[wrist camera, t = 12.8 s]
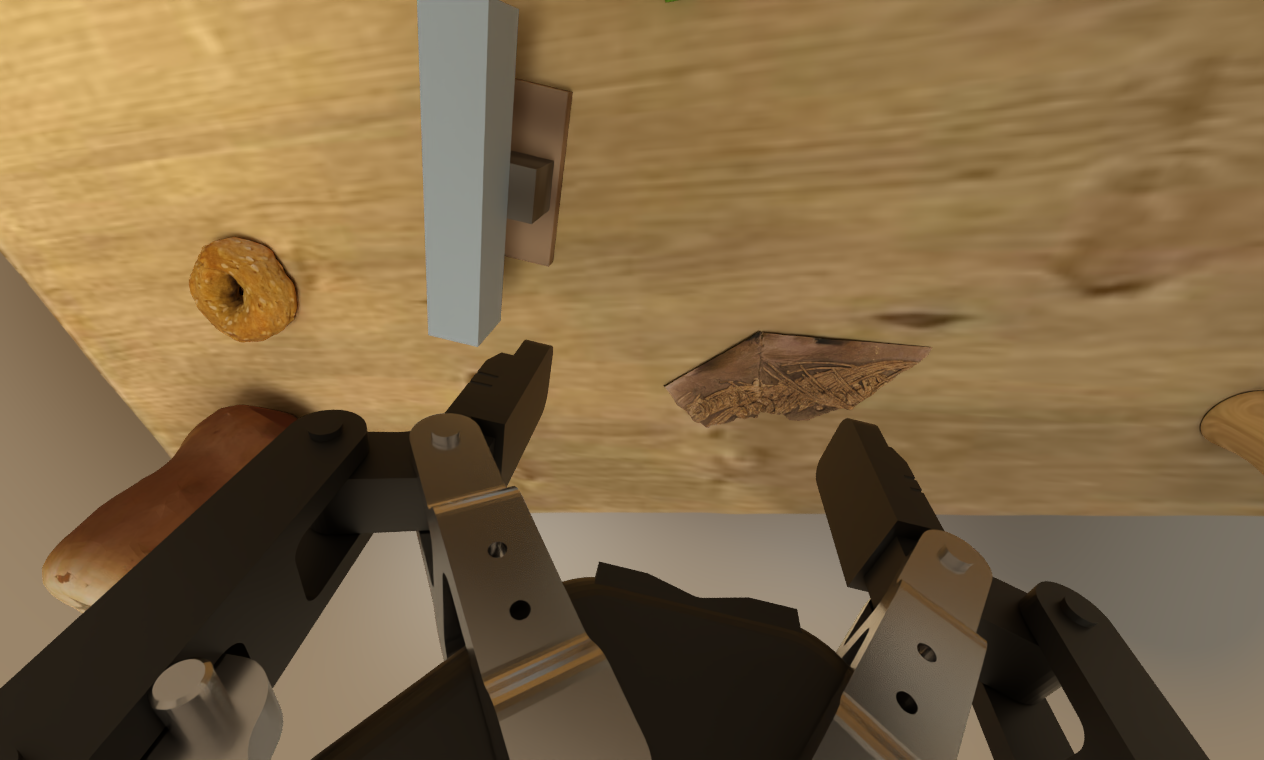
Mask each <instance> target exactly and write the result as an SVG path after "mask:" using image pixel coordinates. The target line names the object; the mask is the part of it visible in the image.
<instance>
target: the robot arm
mask: <svg viewBox="0 0 1264 760" xmlns="http://www.w3.org/2000/svg"><path fill="white" fill-rule="evenodd" d="M552 356H553V347H552V346H550V345H546V344H542V343H538V342H534V341H530V340H524V341H523V343H522V344H521V346H520V347H519V349H518V350H517V351H516V353H515V354H514V355H510V354H505V353H500V354H498V355H496V356H494V357H492V358H490V359H488V360H486V361H485V363H484V364H483V365H482V366H481V368H480V369H479V370H478V373H477V374H475V375H474V377H473V378H472V379H471V381H470V383H468V384H467V385H466V387H465V388H464V389H463V391H462V392H461V393H460V394H459V396H458V397H457V398H456V399H455V401H454V402H453V403H452V405H451V406H450V407H449V408H448V410H447V411H446V412H445V413H443V414H436V415H432V416H429V417H426V418H424V419H422V420H421V421H419V422H418V423H417V424H415V425H414V427H413V428H412V430H411V431H408V432H367V426H366V423H365V421H364V419H363V418H362V417H360V416H359V415H357V414H355V413H353V412H349V411H344V410H324V411H318V412H314V413H311V414H308V415H305V416H303V417H301V418H299V419H297V420H296V421H294V422H293V423H292V424H290V425H289V426H288V427H287V428H286V429H285V430H284V431H283V432H281V433H280V434H279V435H278V436H277V437H276V438H275V439H274V440H273V441H272V442H270V443H269V444H268V445H267V446H266V447H265V448H264V449H263V450H262V451H261V452H259V453H258V454H257V455H256V456H255V457H254V458H253V459H252V460H251V461H250V462H248V463H247V464H246V465H245V466H244V467H243V468H242V469H241V470H240V471H239V472H238V473H236V474H235V475H234V476H233V477H232V478H231V479H230V480H229V481H228V482H227V483H225V484H224V485H223V486H222V487H221V488H220V489H219V490H218V491H217V492H216V493H214V494H213V495H212V496H211V497H210V498H209V499H208V500H207V501H206V502H205V503H203V504H202V505H201V506H200V507H199V508H198V509H197V510H196V511H195V512H194V513H193V514H191V515H190V516H189V517H188V518H187V519H186V520H185V521H184V522H183V523H182V524H180V525H179V526H178V527H177V528H176V529H175V530H174V531H173V532H172V533H171V534H169V535H168V536H167V537H166V538H165V539H164V540H163V541H162V542H161V543H160V544H158V545H157V546H156V547H155V548H154V549H153V550H152V551H151V552H150V553H149V554H148V555H146V556H145V557H144V558H143V559H142V560H141V561H140V562H139V563H138V564H137V565H135V566H134V567H133V568H132V569H131V570H130V571H129V572H128V573H127V574H126V575H124V576H123V577H122V578H121V579H120V580H119V581H118V582H117V583H116V584H115V585H113V586H112V587H111V588H110V589H109V590H108V591H107V592H106V593H105V594H104V595H103V596H101V597H100V598H99V599H98V600H97V601H96V602H95V603H94V604H93V605H92V606H90V607H89V608H88V609H87V610H86V611H85V612H84V613H83V614H82V615H81V616H79V618H77V619H76V620H75V621H74V622H73V623H72V624H71V625H70V626H69V627H68V628H66V629H65V630H64V631H63V632H62V633H61V634H60V635H59V636H57V637H56V638H55V639H54V640H53V641H52V642H51V643H50V644H49V645H48V646H47V647H45V648H44V649H43V650H42V651H41V652H40V653H39V654H38V655H37V656H36V657H34V658H33V659H32V660H31V661H30V662H29V663H28V664H27V665H26V666H25V667H24V668H22V669H21V671H19V672H18V673H17V674H16V675H15V676H14V677H13V678H11V680H9V681H8V682H7V683H6V684H5V685H4V686H3V687H2V688H0V760H271V757H272V755H273V753H274V751H275V748H276V746H277V744H278V742H279V739H280V736H281V733H282V727H283V713H282V710H281V707H280V705H279V703H278V700H277V698H276V696H275V693H274V691H273V689H272V688H273V687H274V685H275V684H276V682H277V681H278V679H279V678H280V676H281V675H282V673H283V671H284V670H285V668H286V667H287V665H288V664H289V662H290V661H291V659H292V658H293V656H294V655H295V653H296V651H297V650H298V648H299V647H300V645H301V644H302V642H303V641H304V639H305V638H306V636H307V634H308V633H309V631H310V630H311V628H312V627H313V625H314V624H315V622H316V621H317V619H318V618H319V616H320V615H321V613H322V611H323V610H324V608H325V607H326V605H327V604H328V602H329V601H330V599H331V597H332V596H333V594H334V593H335V591H336V590H337V588H338V587H339V585H340V584H341V582H342V581H343V579H344V578H345V576H346V575H347V573H348V571H349V570H350V568H351V566H352V565H353V564H354V562H355V561H356V559H357V558H358V556H359V554H360V553H361V551H362V550H363V548H364V547H365V545H366V543H367V542H368V541H369V539H370V538H371V536H372V534H373V533H377V532H378V533H379V532H400V531H416V533H417V537H418V541H419V545H420V549H421V554H422V558H423V562H424V565H425V570H426V574H427V579H428V583H429V587H430V591H431V596H432V599H433V605H434V612H435V619H436V626H437V632H438V636H439V642H440V646H441V651H442V655H443V659H444V662H442V663H441V664H440V665H438V666H437V667H436V668H434V669H433V670H431V671H430V672H429V673H428V674H426V675H425V676H424V677H422V678H421V679H420V680H418V681H417V682H415V683H414V684H412V685H411V686H410V687H408V688H407V689H406V690H404V691H403V692H402V693H400V694H399V695H397V696H396V697H395V698H393V699H392V700H391V701H389V702H388V703H387V704H385V705H384V706H383V707H381V708H380V709H378V710H377V711H376V712H374V713H373V714H372V715H370V716H369V717H368V718H366V719H365V720H363V721H362V722H361V723H360V724H358V725H357V726H355V727H354V728H353V729H351V730H350V731H349V732H347V733H346V734H344V735H343V736H342V737H340V738H339V739H338V740H336V741H335V742H334V743H332V744H331V745H330V746H328V747H327V748H325V749H324V750H323V751H321V752H320V753H319V754H317V755H316V756H315V757H314V758H312V759H311V760H957V756H958V753H959V749H960V745H961V742H962V738H963V734H964V731H965V727H966V723H967V719H968V716H969V712H970V709H971V705H973V708H974V710H975V712H976V715H977V718H978V720H979V723H980V725H981V728H982V731H983V733H984V735H985V738H986V740H987V743H988V745H989V748H990V751H991V753H992V756H993V758H994V760H1209V758H1208V757H1207V755H1206V754H1205V753H1204V751H1203V750H1202V749H1201V747H1200V746H1199V744H1198V743H1197V741H1196V740H1195V739H1194V737H1193V736H1192V735H1191V734H1190V732H1189V730H1188V729H1187V728H1186V726H1185V725H1184V723H1183V722H1182V721H1181V719H1180V718H1179V716H1178V715H1177V714H1176V712H1175V711H1174V709H1173V708H1172V707H1171V705H1170V704H1169V703H1168V701H1167V700H1166V698H1165V697H1164V696H1163V694H1162V693H1161V691H1160V690H1159V689H1158V687H1157V686H1156V684H1154V682H1153V680H1152V679H1151V677H1150V676H1149V675H1148V673H1147V672H1146V671H1145V669H1144V668H1143V666H1142V665H1141V664H1140V662H1139V661H1138V660H1137V658H1136V657H1135V655H1134V654H1133V653H1132V651H1131V650H1130V648H1129V647H1128V646H1127V644H1126V643H1125V641H1124V640H1123V639H1122V637H1121V636H1120V634H1119V633H1118V632H1117V630H1116V629H1115V627H1114V626H1113V625H1112V623H1111V622H1110V621H1109V619H1108V618H1107V617H1106V616H1105V615H1104V614H1103V613H1102V612H1101V611H1100V610H1099V609H1098V608H1097V607H1096V606H1095V605H1093V604H1092V603H1091V602H1090V601H1088V600H1087V599H1085V598H1084V597H1083V596H1081V595H1080V594H1078V593H1077V592H1075V591H1073V590H1071V589H1070V588H1067V587H1065V586H1063V585H1060V584H1057V583H1054V582H1047V581H1045V582H1041V583H1039V584H1037V585H1036V586H1035V587H1034V588H1033V589H1032V590H1031V591H1030V592H1029V593H1026V592H1024V591H1022V590H1020V589H1018V588H1015V587H1013V586H1011V585H1009V584H1007V583H1005V582H1003V581H1001V580H999V579H997V578H994V577H992V572H991V569H990V567H989V565H988V563H987V562H986V561H985V559H984V558H983V557H982V556H981V555H980V554H979V553H978V552H977V551H976V550H975V549H974V548H973V547H972V546H971V545H969V544H968V543H967V542H965V541H964V540H962V539H960V538H959V537H957V536H955V535H952V534H950V533H948V532H945V531H944V529H943V528H942V526H941V524H940V522H939V521H938V518H937V517H936V515H935V513H934V511H933V509H932V508H931V506H930V504H929V502H928V500H927V499H926V497H925V495H924V493H921V490H922V489H921V488H920V486H919V484H918V482H917V481H916V480H914V479H915V477H914V475H913V473H912V471H911V470H910V468H909V466H908V464H907V462H906V461H905V460H904V459H903V458H902V457H901V456H900V455H899V454H898V453H897V452H896V451H895V450H894V449H893V448H891V447H888V445H887V443H886V441H885V439H884V437H883V435H882V433H881V431H880V430H879V428H878V426H876V425H874V424H870V423H866V422H862V421H858V420H853V419H849V418H846V419H844V420H843V421H842V422H841V423H840V425H839V427H838V428H837V430H836V432H835V434H834V435H833V437H832V439H831V441H830V443H829V444H828V446H827V448H826V450H825V451H824V453H823V455H822V457H821V458H820V460H819V463H818V466H817V471H816V482H817V486H818V489H819V493H820V496H821V499H822V503H823V506H824V510H825V513H826V516H827V519H828V523H829V526H830V530H831V533H832V536H833V540H834V543H835V547H836V550H837V554H838V557H839V560H840V564H841V567H842V571H843V574H844V577H845V581H846V584H847V587H850V588H854V589H858V590H862V591H867V592H869V595H870V599H869V600H868V601H867V603H866V604H865V605H864V606H863V608H862V610H861V611H860V613H859V615H858V616H857V618H856V620H855V621H854V623H853V625H852V626H851V628H850V630H849V631H848V633H847V635H846V636H845V638H844V640H843V642H842V643H841V645H840V646H839V648H838V650H837V652H835V651H833V650H832V649H831V648H830V647H829V646H828V645H826V644H825V643H823V642H822V641H821V640H819V639H818V638H817V637H815V636H814V635H812V634H810V633H809V632H807V631H806V630H804V629H802V628H800V623H799V617H798V612H797V609H794V608H790V607H786V606H782V605H777V604H773V603H769V602H765V601H761V600H757V599H753V598H699V597H695V596H693V595H691V594H689V593H687V592H684V591H683V590H681V589H678V588H677V587H675V586H673V585H670V584H668V583H666V582H664V581H662V580H660V579H658V578H656V577H654V576H652V575H650V574H648V573H644V572H639V571H636V570H631V569H628V568H623V567H619V566H615V565H611V564H607V563H603V562H599V565H598V568H597V572H596V576H595V577H584V578H577V579H572V580H567V581H564V582H562V581H561V579H560V577H559V574H558V572H557V570H556V568H555V566H554V563H553V561H552V559H551V557H550V555H549V553H548V551H547V548H546V546H545V544H544V542H543V540H542V538H541V535H540V533H539V531H538V529H537V527H536V525H535V523H534V520H533V518H532V516H531V514H530V512H529V510H528V507H527V505H526V503H525V501H524V499H523V497H522V495H521V493H520V491H519V490H518V488H517V487H515V486H512V487H508V488H507V485H508V483H509V481H510V479H511V477H512V475H513V473H514V471H515V469H516V467H517V465H518V463H519V461H520V458H521V456H522V454H523V452H524V450H525V448H526V446H527V444H528V442H529V440H530V438H531V436H532V434H533V432H534V430H535V428H536V426H537V424H538V422H539V419H540V417H541V415H542V413H543V410H544V407H545V403H546V399H547V394H548V387H549V379H550V372H551V364H552ZM1061 686H1062V688H1063V690H1064V692H1065V693H1066V695H1067V697H1068V699H1069V701H1070V702H1071V704H1072V706H1073V708H1074V710H1075V711H1076V713H1077V715H1078V717H1079V719H1080V721H1081V723H1082V725H1083V729H1084V734H1085V735H1084V736H1085V738H1084V739H1085V740H1084V745H1083V747H1082V749H1081V750H1080V751H1079V752H1078V753H1076V754H1074V752H1073V750H1072V748H1071V746H1070V745H1069V742H1068V741H1067V739H1066V737H1065V735H1064V733H1063V731H1062V729H1061V727H1060V725H1059V723H1058V721H1057V719H1056V717H1055V716H1054V713H1053V712H1052V710H1051V708H1050V706H1049V704H1048V702H1047V700H1046V698H1045V697H1047V696H1048V695H1050V694H1051V693H1053V692H1054V691H1056V690H1057V689H1058V688H1060V687H1061Z"/></svg>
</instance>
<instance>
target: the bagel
mask: <svg viewBox="0 0 1264 760" xmlns="http://www.w3.org/2000/svg"><path fill="white" fill-rule="evenodd" d="M240 286H241V287H242V288H243V290H244V292H243V296H241V295H240V294H239V287H240ZM189 287H190V292H191V294H192V297H193V299H194V300H195V303H196V305H197V307H198V309H199V310H200V311H201V312H202V313H203V315H204V316H205V317H206V318H207V319H208V320H209V321H210V322H211V323H212V324H213V325H214V326H215V328H216V329H218V330H219V331H221V332H222V333H224V334H225V335H227V336H230V337H231V338H233V339H234V340H236V341H239V342H251V341H254V342H258V341H264V340H266V339H268V338H269V337H271V336H273V335H275V334H278V333H279V332H281V331H282V330H284V329H285V327H286V325H288V324H289V323H290V322H291V321H293V319H294V316H295V313H296V310H297V301H296V298H297V295H296V291H295V286H294V284H293V282H292V281H291V280H290V279H289V278H288V276H287V275H286V274H285V272H284V270H283V267H282V265H281V264H280V263H279V261H278V260H277V259H276V258H275V256H274V253H273V252H272V251H271V250H270V249H269V248H267V247H265V246H263V245H261V244H259V243H255V242H252V241H250V240H245V239H241V238H237V237H231V238H225V239H222V240H217V241H214V242H212V243H210V244H209V245H205V246H203V247H202V251H201V254H199V255H198V260H197V261H196V263H195V265H194V269H193V272H192V274H191V275H190V279H189Z"/></svg>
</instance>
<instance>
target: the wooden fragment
mask: <svg viewBox="0 0 1264 760" xmlns="http://www.w3.org/2000/svg"><path fill="white" fill-rule="evenodd" d="M761 334H762V332H758V333H756V334H755V335H753V336H752V337H751V338H750V339H748V340H746V341H744V342H742V343H741V344H739V345H737V346H735V347H734V348H732V349H730V350H728V351H726V352H725V353H723V354H721V355H719V356H718V357H716V358H714V359H712V360H710V361H708V362H707V363H705V364H703V365H701V366H700V367H698V368H696V369H694V370H693V371H691V372H688V373H687V374H685V375H683V376H682V377H680V378H678V379H677V380H675V381H674V382H672V383H670V384H669V385H667V386H664V387H665V388H666V389H667V391H668V392H669V393H670V394H671V396H672V397H673V398H674V400H675V402H676V404H677V405H678V406H679V407H681V408H682V409H684V410H685V411H687V412H688V414H689V415H690V416H691V418H692V420H693V421H695V422H697V423H702V424H703V425H704V426H705V427H707V428H709V426H710V425H717V424H722V423H728V422H731V421H734V420H735V418H743V419H746V418H749V417H753V418H757V417H758V414H759V413H760V411H761V412H768V413H770V414H781V413H783V414H784V415H785V416H786V417H787V418H788V419H789V420H797V421H800V420H810V419H812V418H814V417H816V416H820V415H822V414H824V413H828V412H830V411H832V410H833V411H834V410H837V409H840V408H845V409H847V410H852V409H853V408H854V407H855V406H856V405H857V404H858V403H860V402H862V401H863V400H865V399H866V398H868V397H870V396H871V395H873V394H874V393H875V392H876V391H877V390H878V389H879V388H881V387H882V386H884V385H885V384H887V383H888V382H890V381H891V380H893V378H895V377H896V376H897V375H898V374H900V373H901V372H903V371H906V370H908V369H910V368H912V367H913V366H914V365H916V364H918V363H919V362H920V361H921V360H922V359H923V358H925V357H926V356H928V354H929V352H930V350H931V349H932V347H921V346H909V345H908V346H907V345H895V344H884V343H873V342H859V341H845V340H830V339H819V338H811V337H801V336H788V335H786V336H785V335H783V336H782V335H779V334H768V333H763V340H762V339H761V336H762V335H761Z"/></svg>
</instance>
